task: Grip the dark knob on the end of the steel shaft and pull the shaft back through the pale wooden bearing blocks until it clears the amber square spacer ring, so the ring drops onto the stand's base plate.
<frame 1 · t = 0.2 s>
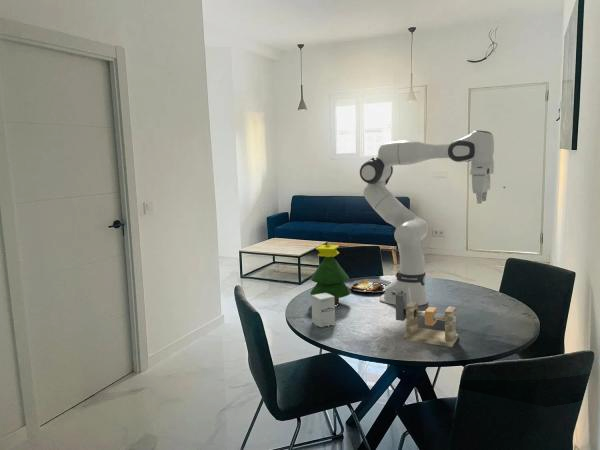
hand: (481, 202, 199), 48 cm above the table, tool pointing down, fingers open, 8 cm apart
shaft: (425, 309, 177), point 11 cm above the table, slide at 0.0 cm, touching spacer
food plate: (371, 289, 245), on the table
supplement box: (323, 324, 197), on the table
decorative tree: (331, 305, 222), on the table
shaft stand: (430, 338, 178), on the table
spacer: (430, 323, 177), point 6 cm above the table, touching shaft
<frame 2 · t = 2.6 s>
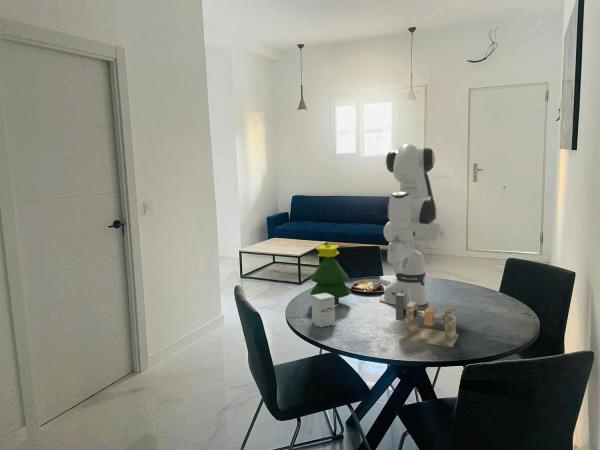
hand: (401, 270, 180), 25 cm above the table, tool pointing down, fingers open, 8 cm apart
nothing on the table moved.
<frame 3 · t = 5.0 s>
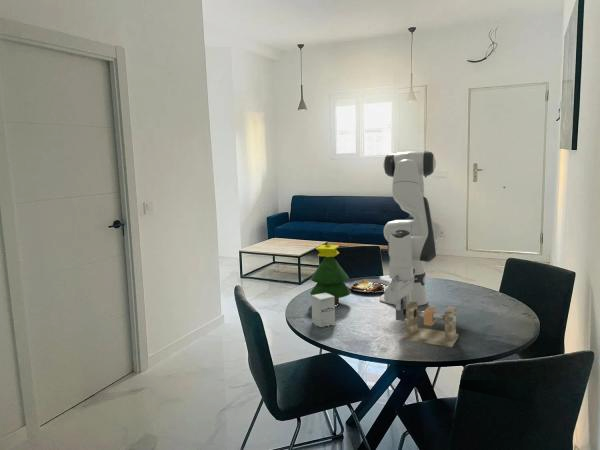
hand: (401, 307, 182), 11 cm above the table, tool pointing down, fingers closed on shaft, 4 cm apart
shaft: (425, 309, 177), point 11 cm above the table, slide at 0.0 cm, touching gripper, spacer
everything else where it was.
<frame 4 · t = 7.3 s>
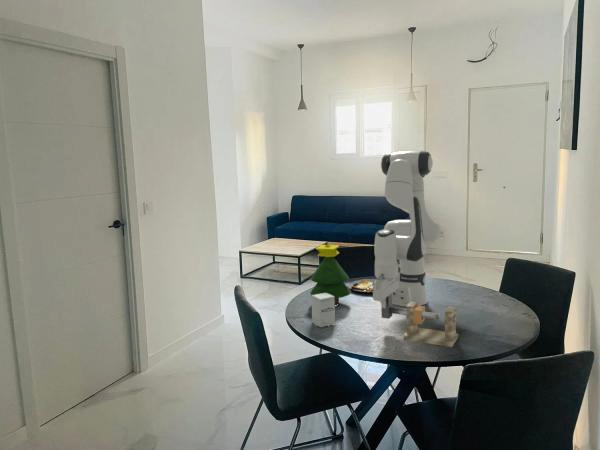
hand: (386, 305, 185), 11 cm above the table, tool pointing down, fingers closed on shaft, 4 cm apart
shaft: (410, 307, 180), point 11 cm above the table, slide at 5.9 cm, touching gripper, spacer
spacer: (419, 321, 179), point 6 cm above the table, touching shaft
everything else where it was.
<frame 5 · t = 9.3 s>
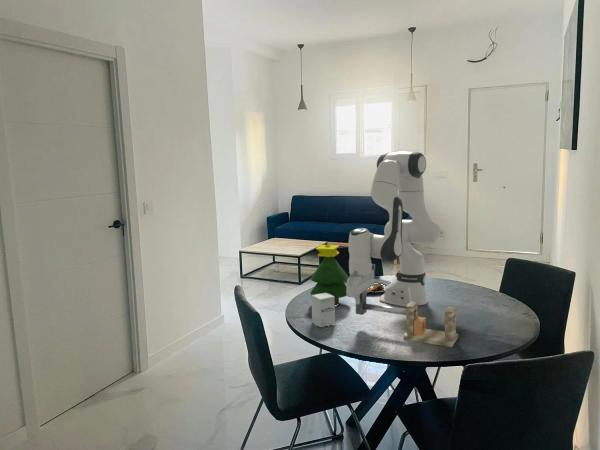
hand: (360, 302, 191), 11 cm above the table, tool pointing down, fingers closed on shaft, 4 cm apart
shaft: (383, 304, 186), point 11 cm above the table, slide at 17.0 cm, touching gripper
spacer: (419, 332, 180), point 1 cm above the table, touching shaft stand
everything else where it was.
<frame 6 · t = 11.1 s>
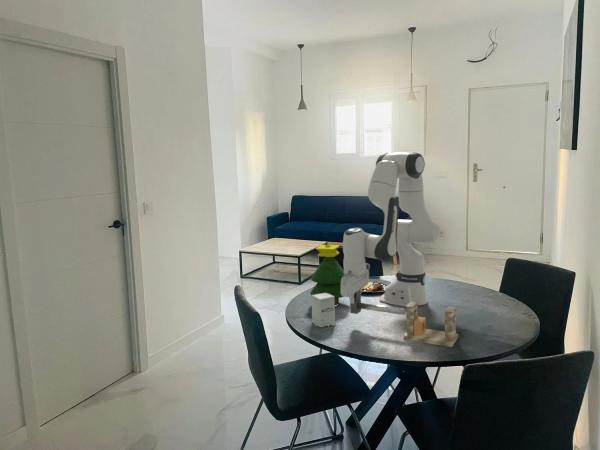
hand: (355, 301, 192), 11 cm above the table, tool pointing down, fingers closed on shaft, 4 cm apart
shaft: (377, 303, 187), point 11 cm above the table, slide at 19.5 cm, touching gripper
everything else where it was.
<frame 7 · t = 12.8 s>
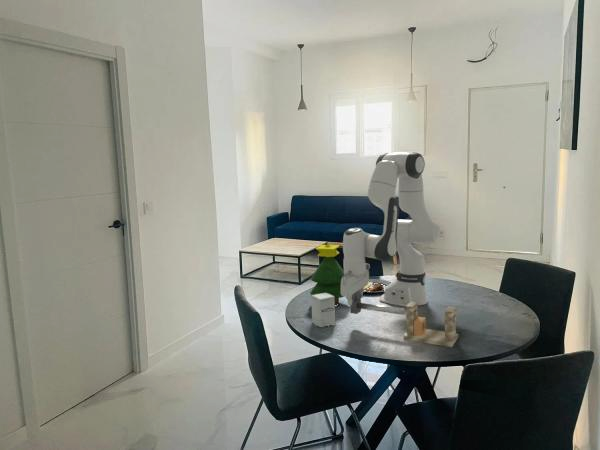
hand: (355, 301, 192), 11 cm above the table, tool pointing down, fingers open, 8 cm apart
shaft: (377, 303, 187), point 11 cm above the table, slide at 19.5 cm
everything else where it was.
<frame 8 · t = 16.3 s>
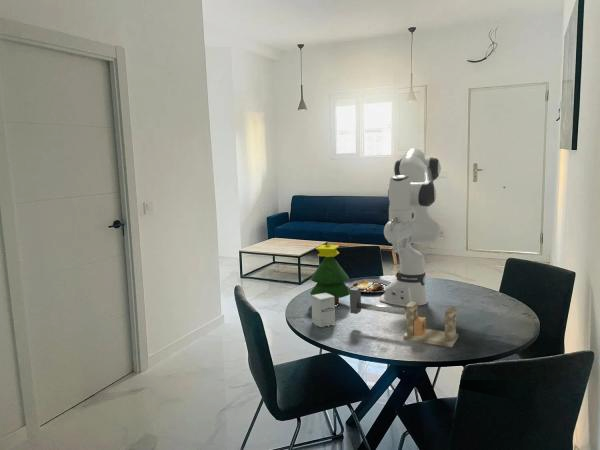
hand: (400, 250, 189), 31 cm above the table, tool pointing down, fingers open, 8 cm apart
nothing on the table moved.
at the end: shaft slide at 19.5 cm; spacer point 1.5 cm above the table; spacer touching shaft stand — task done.
